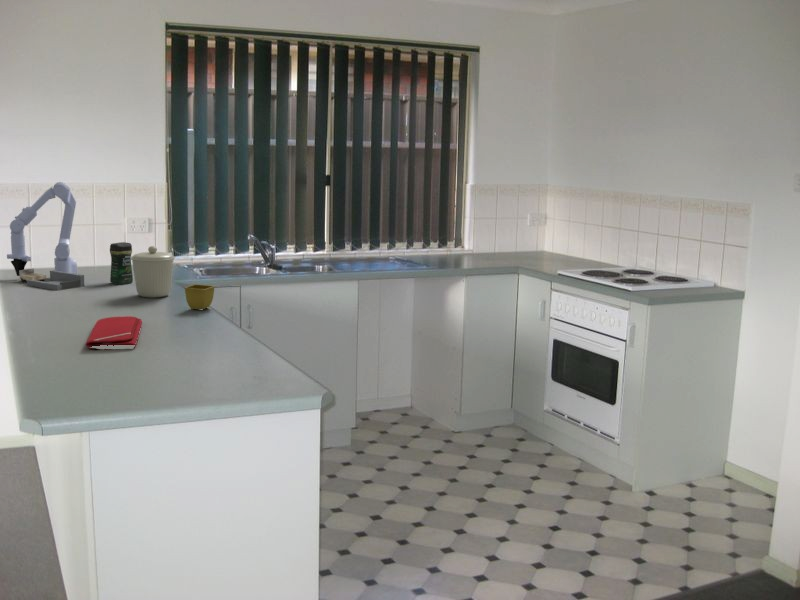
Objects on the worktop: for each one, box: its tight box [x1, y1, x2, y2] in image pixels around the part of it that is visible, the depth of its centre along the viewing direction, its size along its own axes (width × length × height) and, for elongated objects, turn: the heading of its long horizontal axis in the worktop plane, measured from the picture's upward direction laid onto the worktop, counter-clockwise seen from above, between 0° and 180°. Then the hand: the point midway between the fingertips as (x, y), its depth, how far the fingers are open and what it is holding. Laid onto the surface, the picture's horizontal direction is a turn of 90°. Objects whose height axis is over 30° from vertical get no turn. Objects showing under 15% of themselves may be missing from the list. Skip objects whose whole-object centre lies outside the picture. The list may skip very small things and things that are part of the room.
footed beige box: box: [18, 268, 47, 283], centre depth 400 cm, size 8×9×5 cm
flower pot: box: [184, 283, 215, 310], centre depth 349 cm, size 9×9×9 cm
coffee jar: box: [109, 241, 134, 285], centre depth 401 cm, size 10×8×19 cm
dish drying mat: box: [85, 316, 143, 348], centre depth 302 cm, size 16×41×4 cm, turn 13°
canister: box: [130, 245, 176, 299], centre depth 373 cm, size 18×18×21 cm
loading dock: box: [26, 269, 85, 291], centre depth 392 cm, size 14×20×6 cm
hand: (19, 275), depth 405 cm, fingers closed
